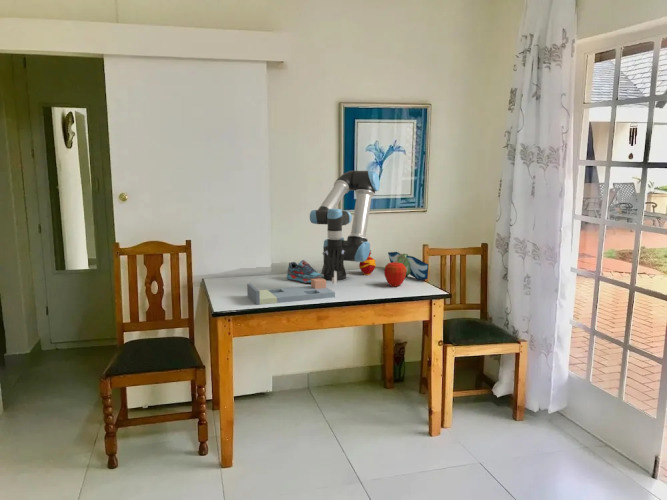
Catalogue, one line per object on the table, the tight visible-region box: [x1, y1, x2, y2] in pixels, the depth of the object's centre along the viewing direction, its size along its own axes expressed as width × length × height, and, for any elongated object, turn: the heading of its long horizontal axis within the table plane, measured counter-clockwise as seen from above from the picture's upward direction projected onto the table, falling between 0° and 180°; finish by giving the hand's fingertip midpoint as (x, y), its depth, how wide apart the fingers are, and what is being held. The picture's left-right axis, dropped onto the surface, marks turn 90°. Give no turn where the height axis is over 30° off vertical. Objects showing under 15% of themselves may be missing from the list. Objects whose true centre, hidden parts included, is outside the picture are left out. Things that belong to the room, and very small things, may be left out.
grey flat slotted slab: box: [246, 282, 336, 306], centre depth 266 cm, size 40×18×6 cm, turn 113°
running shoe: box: [286, 259, 324, 285], centre depth 301 cm, size 10×25×12 cm, turn 56°
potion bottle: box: [358, 249, 377, 276], centre depth 319 cm, size 10×10×15 cm
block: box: [310, 278, 327, 289], centre depth 276 cm, size 6×6×4 cm
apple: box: [383, 261, 407, 288], centre depth 290 cm, size 12×12×14 cm
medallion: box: [387, 251, 429, 281], centre depth 315 cm, size 45×5×14 cm, turn 24°
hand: (334, 283), depth 280 cm, fingers closed
